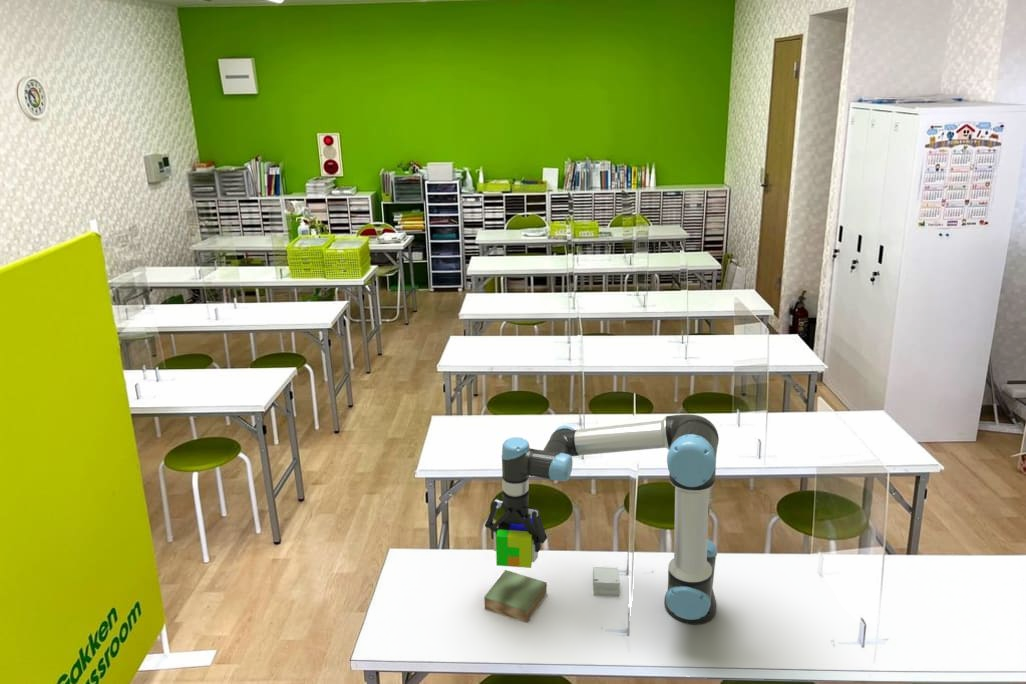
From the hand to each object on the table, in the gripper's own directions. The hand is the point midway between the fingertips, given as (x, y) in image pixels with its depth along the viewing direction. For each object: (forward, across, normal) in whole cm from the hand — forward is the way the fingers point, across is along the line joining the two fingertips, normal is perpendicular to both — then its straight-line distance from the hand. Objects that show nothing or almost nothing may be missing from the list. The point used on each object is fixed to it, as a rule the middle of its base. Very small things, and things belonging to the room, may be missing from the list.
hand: (515, 554), depth 225 cm
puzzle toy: (+1, 0, 0) cm, 1 cm away
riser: (+17, 0, 0) cm, 17 cm away
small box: (+17, -22, -18) cm, 33 cm away
